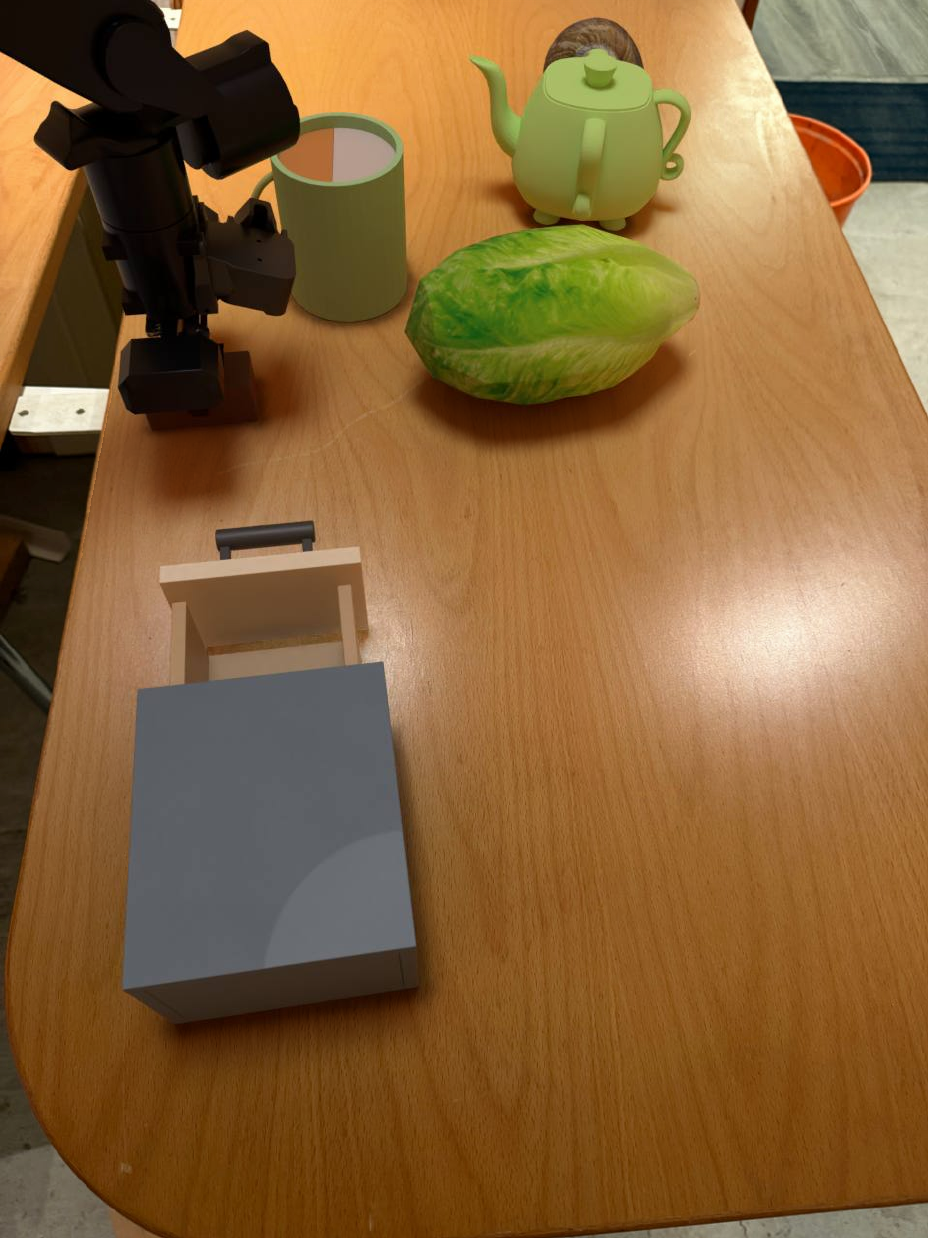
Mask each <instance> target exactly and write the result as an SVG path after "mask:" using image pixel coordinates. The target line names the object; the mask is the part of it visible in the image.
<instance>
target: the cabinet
mask: <svg viewBox="0 0 928 1238" xmlns="http://www.w3.org/2000/svg"><path fill="white" fill-rule="evenodd" d="M389 706H390V705H389V697H388V687H387V680H386V670H385V662H384V661H383V660H382V661H374V662H366V663H365V662H363V663H361V664H355V665H346V666H338V667H329V668H320V669H311V670H303V671H294V672H285V673H276V674H267V675H259V676H250V677H241V678H232V679H224V680H215V681H206V682H197V683H189V684H180V685H171V686H169V685H164V686H163V685H162V686H154V687H147V688H146V687H145V688H138V689H137V695H136V710H135V711H136V712H135V731H134V749H133V750H134V751H133V767H132V787H131V790H132V791H131V806H130V807H131V808H130V826H129V827H130V828H129V844H128V845H129V846H128V862H127V863H128V865H127V883H126V899H125V900H126V902H125V921H124V938H123V957H122V958H123V959H122V960H123V961H122V974H121V975H122V978H121V979H122V980H121V990H122V991H123V992H125V993H126V994H128V995H130V996H131V997H133V998H134V999H136V1000H137V1001H139V1002H140V1003H142V1004H143V1005H145V1006H147V1008H149V1009H151V1010H152V1011H154V1012H155V1013H157V1014H159V1015H160V1016H161V1017H163V1018H165V1019H166V1020H167V1021H169V1022H170V1023H171V1024H173V1025H178V1024H186V1023H192V1022H199V1021H204V1020H205V1021H206V1020H213V1019H219V1018H224V1017H231V1016H237V1015H244V1014H252V1013H258V1012H264V1011H270V1010H277V1009H283V1008H284V1009H285V1008H291V1007H296V1006H297V1007H298V1006H304V1005H309V1004H316V1003H324V1002H329V1001H336V1000H342V999H343V1000H345V999H350V998H357V997H362V996H368V995H375V994H382V993H389V992H394V991H395V992H396V991H403V990H407V989H408V990H409V989H414V988H419V987H420V976H419V962H418V947H417V938H416V927H415V921H414V913H413V912H414V911H413V904H412V903H413V902H412V896H411V895H412V894H411V887H410V885H411V884H410V876H409V868H408V861H407V852H406V844H405V843H406V842H405V834H404V825H403V816H402V809H401V808H402V807H401V801H400V800H401V799H400V791H399V782H398V773H397V766H396V758H395V757H396V756H395V749H394V740H393V731H392V730H393V729H392V723H391V715H390V714H391V713H390V707H389Z"/></svg>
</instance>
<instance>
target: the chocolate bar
mask: <svg viewBox="0 0 928 1238" xmlns="http://www.w3.org/2000/svg"><path fill="white" fill-rule="evenodd" d="M223 369H224V402H223V403H221V404H220V405H219V406H217V407H216V408H208V416H204V417H194V416H192V415H191V414H190V413H189V412H187V411H186V410H184V411H172V412H161V413H149V414H145V416H146V418H147V423H148V425H149V428H150V430H152V431H153V430H163V429H164V430H165V429H178V428H188V427H200V426H201V427H202V426H213V425H224V424H236V423H246V422H247V423H248V422H258V421H259V416H258V415H259V413H258V411H259V410H258V386H257V379H256V375H255V370H254V366H253V362H252V357H251V354H250V350H235V351H224V368H223Z"/></svg>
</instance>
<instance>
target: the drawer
mask: <svg viewBox="0 0 928 1238" xmlns="http://www.w3.org/2000/svg"><path fill="white" fill-rule="evenodd" d="M214 537H215V539H214V540H215V546H216V549H217V552H219V559H218V560H208V561H200V562H189V563H178V564H168V565H160V566H159V570H158V571H159V574H158V584H159V586H160V588H161V591H162V593H163V595H164V597H165V599H166V601H167V604H168V606H169V608H170V611H171V617H170V619H171V621H170V648H169V649H170V651H169V654H170V655H169V680H168V681H169V684H168V686H171V685H180V684H189V683H197V682H206V681H215V680H224V679H232V678H241V677H250V676H259V675H267V674H276V673H285V672H294V671H303V670H311V669H320V668H329V667H338V666H346V665H355V664H362V658H361V657H362V656H361V647H360V639H359V631H366V630H369V628H370V626H369V617H368V609H367V607H368V606H367V599H366V589H365V583H364V573H363V565H362V556H361V547H360V546H359V545H358V546H349V547H339V548H329V549H328V548H327V549H317V550H314V546H313V544H315V543H317V542H316V541H317V537H316V529H315V521H314V520H313V519H312V520H300V521H291V522H282V523H280V522H279V523H271V524H270V523H269V524H260V525H250V526H240V527H239V526H238V527H229V528H228V527H227V528H220V529H215V532H214ZM293 545H294V546H295V545H301V546H302V547H301V548H302V551H297V552H289V553H279V554H268V555H259V556H249V557H248V556H247V557H240V558H239V557H238V558H232V552H235V551H236V552H237V551H246V550H254V549H256V550H257V549H265V548H266V549H267V548H275V547H286V546H293ZM340 633H341V640H340V641H339V640H338V641H332V642H331V641H330V642H322V643H314V644H305V645H304V644H303V645H295V646H285V647H277V648H269V649H260V650H250V651H242V652H241V651H240V652H232V653H223V654H215V655H214V654H213V655H209V653H208V650H207V648H209V647H210V648H213V647H219V646H221V647H222V646H229V645H238V644H239V645H240V644H246V643H255V642H264V641H275V640H283V639H291V638H302V637H312V636H319V635H329V634H340Z"/></svg>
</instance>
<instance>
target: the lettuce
mask: <svg viewBox="0 0 928 1238" xmlns="http://www.w3.org/2000/svg"><path fill="white" fill-rule="evenodd" d="M700 305H701V289H700V285H699V283H698V280H697V279H696V278H695V277H694V275H693V274H692V272H691V271H690V270H689V269H688V268H686V267H685V266H684V265H682V264H681V263H679V262H678V261H677V260H675V259H672V258H671V257H669V256H667V255H666V254H664V253H661V252H659V251H657V250H655V249H653V248H651V247H649V246H647V245H646V244H644V243H642V242H640V241H637V240H634V239H631V238H627V237H623V236H620V235H618V234H614V233H610V232H607V231H605V230H601V229H598V228H595V227H592V226H589V225H585V224H572V225H571V224H570V225H556V226H547V227H545V226H544V227H538V228H537V227H536V228H528V229H521V230H518V231H513V232H507V233H504V234H499V235H494V236H492V237H488V238H486V239H483V240H481V241H478V242H475V243H473V244H470V245H467V246H463V247H462V248H459V249H456V250H455V251H453V252H452V253H451V254H449V255H448V256H447V257H446V258H445V259H444V260H442V261H441V262H440V263H439V264H437V265H436V266H435V267H433V269H432V270H430V271H428V273H427V274H425V275H424V276H423V277H421V278H420V279H419V281H418V285H417V288H416V292H415V294H414V298H413V301H412V304H411V308H410V311H409V315H408V318H407V321H406V325H405V328H404V334H405V335H406V337H407V339H408V341H409V343H410V345H412V347H413V349H414V350H415V352H416V353H417V355H418V357H419V359H420V360H421V363H423V365H424V367H425V368H426V370H427V372H428V374H429V375H430V376H431V377H432V378H434V379H436V380H438V381H440V382H442V383H444V384H446V385H448V386H451V387H452V388H454V389H457V390H459V391H461V392H463V393H465V394H467V395H469V396H471V397H473V398H475V399H483V400H487V401H495V402H501V403H502V402H503V403H510V404H516V405H522V406H529V405H537V404H546V403H550V402H554V401H557V400H560V399H561V400H562V399H564V398H571V397H578V396H579V397H580V396H586V395H591V394H593V393H596V392H600V391H603V390H607V389H611V388H614V387H615V386H617V385H618V384H620V383H622V382H624V380H626V379H628V378H629V377H631V376H632V375H634V374H635V373H636V372H637V371H638V370H640V369H641V368H642V367H643V366H644V365H645V364H647V363H648V362H649V361H650V360H651V359H652V358H654V356H655V354H656V353H657V351H658V349H659V348H660V346H661V344H662V343H663V342H664V341H666V340H667V339H668V338H671V336H673V335H675V334H676V333H677V332H678V331H680V329H682V328H683V327H684V326H685V325H687V324H689V323H690V322H691V321H693V320H694V318H695V317H696V315H697V313H698V312H699V309H700Z"/></svg>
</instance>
